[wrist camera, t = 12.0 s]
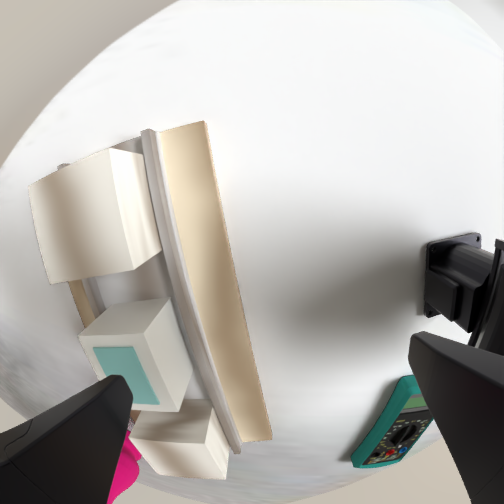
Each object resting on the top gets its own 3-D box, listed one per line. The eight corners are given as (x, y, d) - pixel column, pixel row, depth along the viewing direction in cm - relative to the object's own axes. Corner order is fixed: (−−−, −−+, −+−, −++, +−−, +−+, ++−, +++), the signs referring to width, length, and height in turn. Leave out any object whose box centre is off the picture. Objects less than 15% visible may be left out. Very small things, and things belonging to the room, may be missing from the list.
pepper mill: (90, 429, 25) (32, 533, 6) (107, 412, 24) (38, 540, 4) (134, 458, 26) (92, 566, 7) (158, 446, 25) (114, 577, 5)
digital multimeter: (347, 457, 25) (351, 474, 22) (399, 371, 21) (411, 390, 19) (393, 450, 25) (399, 465, 22) (448, 368, 22) (461, 383, 19)
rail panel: (206, 123, 17) (178, 93, 10) (271, 432, 23) (273, 484, 17) (52, 178, 18) (-4, 182, 11) (148, 433, 24) (131, 475, 18)
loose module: (170, 296, 18) (142, 334, 13) (194, 367, 19) (178, 413, 14) (112, 304, 18) (76, 337, 13) (138, 368, 20) (114, 409, 15)
